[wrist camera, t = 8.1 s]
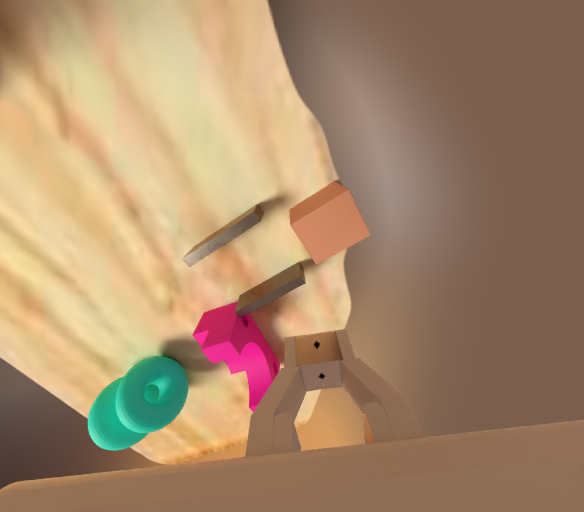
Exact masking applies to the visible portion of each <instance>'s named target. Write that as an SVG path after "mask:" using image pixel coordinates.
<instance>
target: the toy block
mask: <svg viewBox="0 0 584 512" xmlns="http://www.w3.org/2000/svg"><path fill="white" fill-rule="evenodd" d="M237 303H238V302H235V303H232V304H229V305H226V306H223V307H220V308H217V309H214V310H211V311H207V312H204V314H203V316H202V318H201V319H200V321H199V323H198V325H197V327H196V329H195V331H194V333H193V336H194V338H195V339H196V340H197V341H198V342H199V344H200V345H201V346H202V348H201V350H202V352H203V353H204V354H205V355H206V356H207V358H208V359H209V360H210V361H211V362H212V363H216V362H219V361H223V360H224V361H225V362H226V364H227V365H228V367H229V370H230V372H231V374H234V373H238V372H242V371H245V370H246V374H247V378H248V384H249V408H250V409H251V410H252V411H253V412H254V410H255V409H256V407H257V406H258V404H259V403H260V401H261V399H262V398H263V396H264V395H265V393H266V392H267V390H268V389H269V387H270V385H271V384H272V382H273V381H274V379H275V378H276V376H277V374H278V373H279V369H280V363H279V361H278V360H277V358H276V356H275V355H274V353H273V351H272V350H271V348H270V347H269V345H268V343H267V342H266V340H265V338H264V337H263V335H262V333H261V332H260V330H259V328H258V327H257V325H256V323H255V322H254V320H253V319H252V317H251V315H250V314H247V315H245V316H243V317H241V318H240V317H239V316H238V315H237V314H236V313H235V309H236V306H237Z"/></svg>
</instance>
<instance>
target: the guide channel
mask: <svg viewBox="0 0 584 512" xmlns="http://www.w3.org/2000/svg"><path fill="white" fill-rule="evenodd" d="M263 213H264V212H263V211H262V209H261V208H260V206H259V205H258V204H257V205H255V206H254V207H252V208H251V209H249V210H248V211H246V212H245V213H243V214H242V215H240V216H239V217H238V218H236V219H235V220H233V221H232V222H230V223H229V224H227V225H226V226H224V227H223V228H221V229H220V230H218V231H217V232H215V233H214V234H212V235H211V236H209V237H208V238H206V239H205V240H203V241H202V242H200V243H199V244H197V245H196V246H194V247H193V248H192V249H191V250H190V251H189V252H188V253H187V254H186V255H185V257H184V258H183V259H182V260H183V261H184V262H185V263H186V264H187V265H188V266H189V267H190V266H192V265H194V264H195V263H197V262H198V261H200V260H201V259H203V258H204V257H206V256H207V255H209V254H211V253H212V252H214V251H215V250H217V249H218V248H220V247H221V246H223V245H224V244H226V243H228V242H229V241H231V240H232V239H234V238H235V237H237V236H238V235H240V234H241V233H243V232H245V231H246V230H248V229H249V228H251V227H252V226H254V225H255V224H257V223H258V222H260V221H261V218H262V216H263ZM303 284H305V276H304V269H303V267H302V266H301V265H300V263H299V262H298V263H296V264H295V265H293V266H291V267H289V268H288V269H286V270H284V271H282V272H281V273H279V274H277V275H275V276H273V277H272V278H270V279H268V280H266V281H265V282H263V283H261V284H259V285H258V286H256V287H254V288H252V289H250V290H249V291H247V292H245V293H243V294H242V295H240V297H239V300H238V303H237V306H236V309H235V313H236V314H237V315H238V316H239V317H240V318H241V317H243V316H245V315H247V314H249V313H251V312H253V311H254V310H256V309H258V308H260V307H262V306H264V305H266V304H267V303H269V302H271V301H273V300H275V299H277V298H279V297H281V296H282V295H284V294H286V293H288V292H290V291H292V290H294V289H295V288H297V287H299V286H301V285H303Z"/></svg>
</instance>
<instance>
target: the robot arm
mask: <svg viewBox="0 0 584 512" xmlns="http://www.w3.org/2000/svg"><path fill="white" fill-rule="evenodd" d="M323 386H324V387H323ZM336 387H342V388H343V389H344V390H345V392H346V393H347V394H348V395H349V397H350V398H351V399H352V400H353V401H354V403H355V404H356V405H357V406H358V407H359V409H360V410H361V411H362V412H363V414H364V429H365V430H364V433H365V435H364V436H365V443H366V444H359V445H350V446H341V447H332V448H323V449H313V450H304V451H301V446H300V442H299V439H298V435H297V432H296V429H295V425H294V421H295V418H296V416H297V413H298V411H299V408H300V406H301V404H302V401H303V399H304V396H305V394H306V391H312V390H319V389H326V388H336ZM0 512H584V420H579V421H571V422H561V423H552V424H543V425H534V426H524V427H515V428H507V429H497V430H488V431H480V432H471V433H461V434H452V435H442V436H433V437H425V436H424V434H423V432H422V430H421V428H420V426H419V424H418V422H417V420H416V418H415V416H414V414H413V412H412V410H411V408H410V406H409V404H408V401H407V399H406V398H405V397H404V396H403V395H402V394H401V393H399V392H398V391H397V390H396V389H395V388H394V387H392V386H391V385H390V384H389V383H388V382H387V381H385V380H384V379H383V378H382V377H381V376H379V375H378V374H377V373H376V372H375V371H373V370H372V369H371V368H370V367H369V366H368V365H367V364H365V363H364V362H363V361H362V360H361V359H359V358H356V357H355V355H354V352H353V349H352V346H351V343H350V340H349V337H348V334H347V331H346V330H345V329H344V330H337V331H329V332H323V333H316V334H310V335H301V336H293V337H285V365H284V368H281V370H280V371H279V373H278V374H277V376H276V378H275V379H274V381H273V382H272V384H271V385H270V387H269V389H268V390H267V392H266V393H265V395H264V396H263V398H262V399H261V401H260V403H259V404H258V406H257V407H256V409H255V410H254V412H253V414H252V415H251V420H250V427H249V434H248V441H247V449H246V456H245V457H241V458H232V459H222V460H213V461H205V462H195V463H186V464H176V465H167V466H158V467H149V468H140V469H131V470H122V471H113V472H104V473H95V474H85V475H76V476H67V477H58V478H49V479H39V480H29V481H21V482H16V483H12V484H10V485H8V486H6V487H4V488H3V489H1V490H0Z"/></svg>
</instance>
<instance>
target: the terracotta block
mask: <svg viewBox="0 0 584 512" xmlns="http://www.w3.org/2000/svg"><path fill="white" fill-rule="evenodd" d="M289 212H290V225H291V227H292V228H293V230H294V231H295V233H296V235H297V236H298V238H299V239H300V241H301V242H302V244H303V245H304V247H305V248H306V250H307V251H308V253H309V254H310V256H311V257H312V259H313V260H314V262H315V263H316V265H317V264H318V263H320V262H322V261H324V260H326V259H328V258H329V257H331V256H333V255H335V254H337V253H339V252H341V251H342V250H344V249H346V248H348V247H350V246H351V245H353V244H355V243H357V242H359V241H360V240H362V239H364V238H366V237H368V236H370V233H369V231H368V229H367V227H366V225H365V223H364V220H363V218H362V217H361V214H360V212H359V210H358V208H357V206H356V204H355V202H354V200H353V197H352V195H351V193H350V191H349V190H348V189H347V188H345V187H343V186H342V185H340V184H338V183H336V182H335V181H334V182H332V183H331V184H329V185H328V186H326V187H325V188H323V189H321V190H320V191H318V192H317V193H315V194H313V195H312V196H310V197H309V198H307V199H305V200H304V201H302V202H301V203H299V204H298V205H296V206H294V207H293V208H291V209H290V210H289Z"/></svg>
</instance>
